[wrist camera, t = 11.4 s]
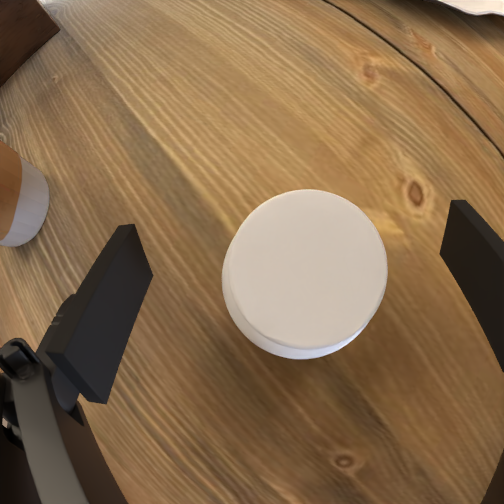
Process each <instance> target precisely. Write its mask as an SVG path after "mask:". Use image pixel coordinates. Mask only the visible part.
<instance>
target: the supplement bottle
mask: <svg viewBox="0 0 504 504" xmlns="http://www.w3.org/2000/svg"><path fill="white" fill-rule="evenodd" d="M387 275H388V265H387V256H386V251H385V248H384V245H383V242H382V239H381V237H380V235H379V233H378V231H377V229H376V228H375V226H374V224H373V223H372V222H371V220H370V219H369V218H368V217H367V216H366V214H365V213H364V212H363V211H362V210H361V209H359V208H358V207H357V206H356V205H354V204H353V203H351V202H350V201H348V200H346V199H345V198H343V197H340V196H338V195H335V194H332V193H329V192H326V191H320V190H309V189H303V190H295V191H290V192H286V193H283V194H280V195H277V196H275V197H273V198H271V199H269V200H267V201H265V202H264V203H263V204H261V205H260V206H259V207H257V208H256V209H255V210H254V211H253V212H252V213H251V214H250V215H249V216H248V217H247V218H246V219H245V221H244V222H243V223H242V225H241V226H240V228H239V230H238V232H237V233H236V235H235V236H234V238H233V240H232V241H231V243H230V245H229V248H228V250H227V253H226V256H225V259H224V264H223V270H222V289H223V295H224V299H225V303H226V306H227V309H228V311H229V313H230V316H231V317H232V319H233V321H234V322H235V324H236V325H237V327H238V328H239V329H240V331H241V332H242V333H243V334H244V335H245V336H246V337H247V338H248V339H249V340H250V341H251V342H253V343H254V344H255V345H257V346H258V347H260V348H262V349H263V350H265V351H267V352H269V353H272V354H274V355H277V356H281V357H285V358H291V359H311V358H318V357H322V356H325V355H328V354H330V353H333V352H335V351H337V350H339V349H341V348H342V347H344V346H345V345H347V344H348V343H350V342H351V341H352V340H353V339H354V338H355V337H356V336H357V335H358V334H360V332H361V331H362V330H363V329H364V328H365V327H366V325H367V324H368V323H369V321H370V319H371V318H372V317H373V315H374V314H375V312H376V311H377V309H378V307H379V305H380V303H381V300H382V298H383V295H384V292H385V288H386V283H387Z"/></svg>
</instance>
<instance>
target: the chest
mask: <svg viewBox="0 0 504 504" xmlns="http://www.w3.org/2000/svg"><path fill="white" fill-rule="evenodd" d="M59 30H60V28H59V27H58V25H57V24H56V23H55V21H54V20H53V18H52V17H51V16H50V14H49V13H48V11H47V10H46V9H45V7H44V6H43V5H42V3H41V2H40V1H39V0H0V87H1V86H2V85H3V84H4V83H5V82H6V80H7V79H8V78H9V77H10V76H11V75H12V74H13V73H14V72H15V71H16V70H17V69H18V68H19V67H20V66H21V65H22V64H23V63H24V62H25V61H26V60H27V59H28V58H29V57H30V56H31V55H32V54H33V53H34V52H35V51H37V50H38V49H39V48H40V47H41V46H42V45H43V44H44V43H45V42H47V41H48V40H49V39H50V38H51V37H52V36H53V35H55V34H56V33H57V32H58V31H59Z"/></svg>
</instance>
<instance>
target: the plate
mask: <svg viewBox="0 0 504 504" xmlns="http://www.w3.org/2000/svg"><path fill="white" fill-rule="evenodd" d="M422 1H426V2H430V3H434V4H438V5H442V6H445V7H448V8H451V9H454V10H457V11H459V12H462V13H465V14H469V15H473V16H482V15H488V14H495V15H499V16H504V0H422Z"/></svg>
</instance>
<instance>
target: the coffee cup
mask: <svg viewBox="0 0 504 504" xmlns="http://www.w3.org/2000/svg"><path fill="white" fill-rule="evenodd" d="M49 199H50V197H49V187H48V184H47V182H46V180H45V177H44V175H43V174H42V172H41V171H40V170H39V169H37V168H36V167H34V166H33V165H32V164H30V163H29V162H27V161H26V160H25V159H23V158H22V157H20V156H19V155H18V154H17V152H15V151H14V150H13V149H11V148H10V147H9V146H7V145H6V144H5V143H3V142H2V141H1V140H0V245H2V246H8V247H16V246H20V245H21V244H25V243H26V242H28V241H30V240H31V239H32V238H33V237H34V236H35V235H36V234H37V233H38V231H39V230H40V228H41V226H42V224H43V222H44V220H45V218H46V214H47V211H48V207H49Z"/></svg>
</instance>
